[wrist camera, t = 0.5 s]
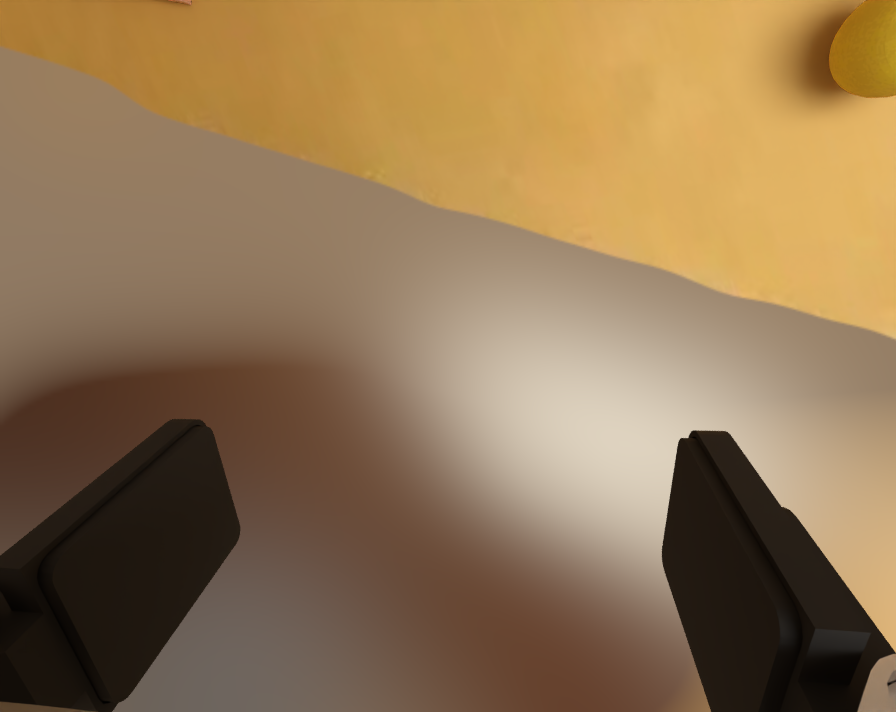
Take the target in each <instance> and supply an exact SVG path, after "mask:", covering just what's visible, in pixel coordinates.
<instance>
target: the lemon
mask: <svg viewBox="0 0 896 712" xmlns="http://www.w3.org/2000/svg"><path fill="white" fill-rule="evenodd" d="M829 66H830V71H831V74H832V77H833V79H834V80H835V81H836V83H837V84H838V85H839V86H840V87H841V88H842V89H844V90H846V91H847V92H849V93H851V94H854V95H858V96H862V97H866V98H879V97H890V96H895V95H896V0H866V1H865V2H863V3H862V4H861V5H859V6H858V7H857V8H856V9H855V10H854V11H853V12H852V14H851V15H850V16H849V17H848V18H847V19H846V20H845V21H844V23H843V24H842V26H841V27H840V29H839V30H838V32H837V33H836V35H835V38H834V40H833V43H832V45H831V49H830V55H829Z"/></svg>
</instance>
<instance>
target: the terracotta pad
mask: <svg viewBox="0 0 896 712" xmlns="http://www.w3.org/2000/svg"><path fill="white" fill-rule="evenodd" d="M169 1H174V2H179V3H184V4H189V5H191V0H169Z"/></svg>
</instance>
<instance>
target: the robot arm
mask: <svg viewBox="0 0 896 712" xmlns="http://www.w3.org/2000/svg"><path fill="white" fill-rule="evenodd" d="M239 535H240V524H239V520H238V517H237V514H236V510H235V507H234V503H233V500H232V496H231V493H230V489H229V486H228V482H227V479H226V476H225V472H224V468H223V465H222V461H221V458H220V455H219V451H218V448H217V444H216V441H215V437H214V434H213V431H212V430H211V429H210V428H209V427H207V426H206V425H205V423H204V422H203V421H201V420H194V419H172V420H170V421H168V422H167V423H165V424H164V425H163V426H162V427H160V428H159V429H158V430H157V431H155V432H154V433H153V434H152V435H150V436H149V437H148V438H147V439H145V440H144V441H143V442H142V443H140V444H139V445H138V446H137V447H135V448H134V449H133V450H132V451H130V452H129V453H128V454H127V455H125V456H124V457H123V458H122V459H121V460H119V461H118V462H117V463H115V464H114V465H113V466H112V467H110V468H109V469H108V470H107V471H105V472H104V473H103V474H102V475H101V476H99V477H98V478H97V479H95V480H94V481H93V482H92V483H91V484H89V485H88V486H87V487H85V488H84V489H83V490H82V491H80V492H79V493H78V494H77V495H75V496H74V497H73V498H72V499H71V500H69V501H68V502H67V503H66V504H64V505H63V506H62V507H61V508H59V509H58V510H57V511H56V512H54V513H53V514H52V515H51V516H49V517H48V518H47V519H46V520H44V521H43V522H42V523H41V524H39V525H38V526H37V527H36V528H34V529H33V530H32V531H31V532H29V533H28V534H27V535H26V536H24V537H23V538H22V539H21V540H19V541H18V542H17V543H16V544H14V545H13V546H12V547H11V548H9V549H8V550H7V551H6V552H4V553H3V554H2V555H1V556H0V712H112V711H113V710H114V708H115V707H116V705H117V704H118V703H119V702H121V701H124V700H125V699H126V698H127V697H128V696H129V695H130V694H131V692H132V691H133V690H134V689H135V687H136V686H137V684H138V683H139V681H140V680H141V678H142V677H143V676H144V674H145V673H146V671H147V670H148V669H149V667H150V666H151V664H152V663H153V662H154V660H155V659H156V657H157V656H158V654H159V653H160V652H161V650H162V649H163V647H164V646H165V644H166V643H167V642H168V640H169V639H170V637H171V636H172V634H173V633H174V632H175V630H176V629H177V627H178V626H179V624H180V623H181V622H182V620H183V619H184V617H185V616H186V614H187V613H188V611H189V610H190V609H191V607H192V606H193V604H194V603H195V602H196V600H197V599H198V597H199V596H200V595H201V593H202V592H203V590H204V589H205V587H206V586H207V585H208V583H209V582H210V580H211V579H212V578H213V576H214V575H215V573H216V572H217V570H218V569H219V568H220V566H221V564H222V563H223V562H224V560H225V559H226V557H227V556H228V554H229V553H230V552H231V550H232V549H233V548H234V546H235V545H236V543H237V541H238V539H239ZM662 562H663V567H664V571H665V574H666V577H667V580H668V583H669V586H670V589H671V592H672V595H673V598H674V601H675V604H676V607H677V610H678V613H679V616H680V619H681V622H682V625H683V628H684V631H685V634H686V637H687V640H688V643H689V646H690V649H691V652H692V655H693V658H694V661H695V664H696V667H697V670H698V673H699V676H700V679H701V682H702V685H703V688H704V691H705V694H706V697H707V700H708V703H709V706H710V709H711V712H896V653H895V651H894V650H893V649H892V647H891V646H890V644H889V643H888V642H887V640H886V639H885V638H884V636H883V635H882V633H881V632H880V631H879V629H878V628H877V627H876V625H875V624H874V622H873V621H872V620H871V619H870V617H869V616H868V615H867V613H866V612H865V610H864V609H863V608H862V606H861V605H860V603H859V602H858V601H857V599H856V598H855V596H854V595H853V594H852V592H851V591H850V590H849V588H848V587H847V586H846V584H845V583H844V581H843V580H842V579H841V577H840V576H839V575H838V573H837V572H836V570H835V569H834V568H833V566H832V565H831V564H830V562H829V561H828V559H827V558H826V557H825V555H824V554H823V553H822V551H821V550H820V548H819V547H818V546H817V544H816V543H815V542H814V540H813V539H812V538H811V536H810V535H809V534H808V532H807V531H806V529H805V528H804V527H803V525H802V524H801V522H800V521H799V520H798V519H797V517H796V516H795V515H794V514H793V513H792V512H791V511H790V510H789V509H786V508H784V507H781V506H780V504H779V503H778V501H777V500H776V498H775V497H774V496H773V494H772V493H771V491H770V490H769V489H768V487H767V486H766V484H765V483H764V482H763V480H762V479H761V477H760V476H759V475H758V473H757V472H756V470H755V469H754V467H753V466H752V465H751V463H750V462H749V460H748V459H747V457H746V456H745V455H744V454H743V452H742V450H741V449H740V448H739V446H738V445H737V443H736V442H735V441H734V439H733V438H732V436H731V435H730V434H729V433H728V432H726V431H692V432H691V433H690V435H689V438H681V439H680V440H679V442H678V447H677V454H676V460H675V468H674V473H673V480H672V487H671V494H670V500H669V506H668V513H667V520H666V527H665V533H664V540H663V546H662Z"/></svg>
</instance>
